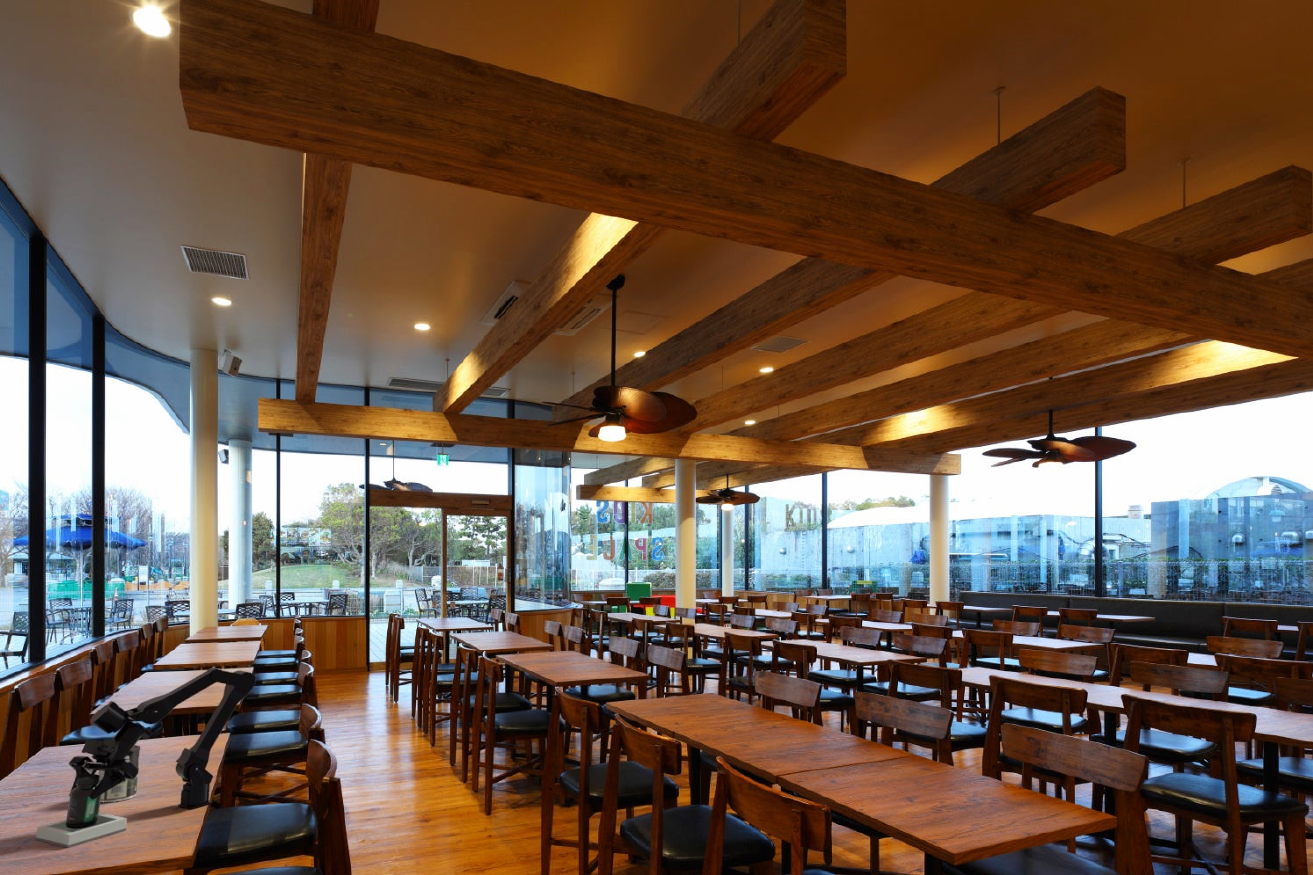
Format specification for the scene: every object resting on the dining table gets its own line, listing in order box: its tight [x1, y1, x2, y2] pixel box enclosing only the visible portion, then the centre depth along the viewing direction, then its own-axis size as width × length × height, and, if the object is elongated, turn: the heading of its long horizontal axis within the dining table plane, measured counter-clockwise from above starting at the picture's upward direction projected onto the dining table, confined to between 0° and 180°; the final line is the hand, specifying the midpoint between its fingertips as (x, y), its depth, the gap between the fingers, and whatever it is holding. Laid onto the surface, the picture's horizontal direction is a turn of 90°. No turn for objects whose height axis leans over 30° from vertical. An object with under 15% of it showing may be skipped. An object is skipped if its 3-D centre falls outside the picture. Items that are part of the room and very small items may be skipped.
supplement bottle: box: [65, 773, 101, 829], centre depth 211 cm, size 7×7×12 cm
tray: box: [35, 812, 128, 848], centre depth 210 cm, size 14×14×3 cm
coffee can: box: [97, 744, 141, 804], centre depth 243 cm, size 10×10×14 cm
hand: (81, 797), depth 210 cm, fingers closed on supplement bottle, 7 cm apart
